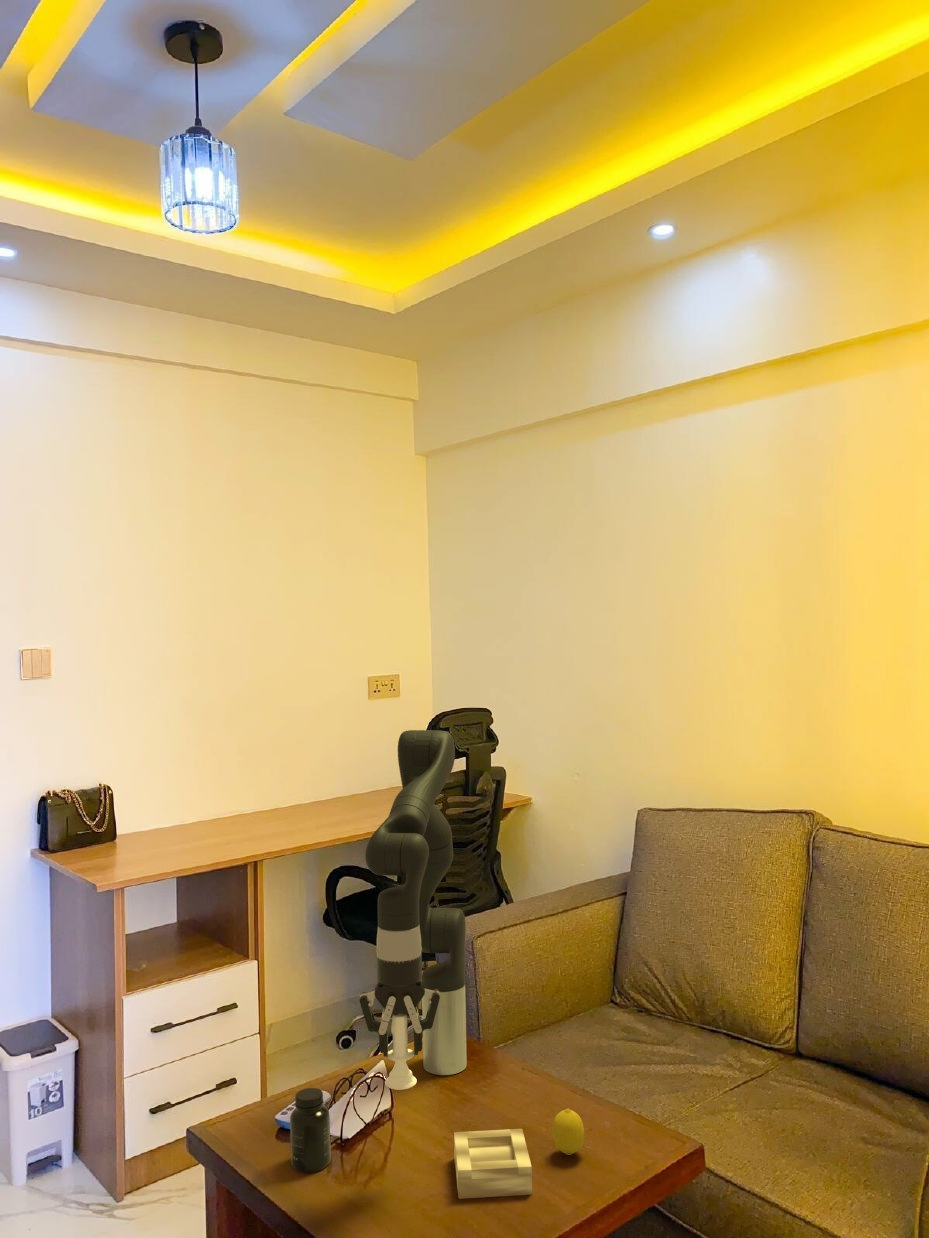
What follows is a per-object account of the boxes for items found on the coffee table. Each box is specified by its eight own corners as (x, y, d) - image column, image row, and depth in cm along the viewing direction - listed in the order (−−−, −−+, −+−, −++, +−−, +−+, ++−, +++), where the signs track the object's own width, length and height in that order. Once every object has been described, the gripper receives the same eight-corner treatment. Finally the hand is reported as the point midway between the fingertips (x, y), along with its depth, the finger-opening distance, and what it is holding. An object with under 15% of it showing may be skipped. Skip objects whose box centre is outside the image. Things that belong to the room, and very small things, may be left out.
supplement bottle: (315, 1148, 169) (314, 1080, 169) (338, 1162, 164) (337, 1092, 164) (283, 1163, 164) (282, 1093, 164) (305, 1178, 159) (304, 1107, 160)
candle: (390, 1092, 155) (389, 1019, 156) (380, 1078, 160) (379, 1007, 160) (421, 1086, 157) (420, 1013, 158) (410, 1072, 162) (409, 1002, 163)
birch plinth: (454, 1158, 165) (454, 1132, 165) (522, 1154, 166) (522, 1128, 166) (458, 1198, 153) (458, 1170, 153) (532, 1194, 154) (531, 1166, 154)
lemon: (549, 1160, 163) (548, 1114, 164) (557, 1144, 169) (556, 1099, 169) (580, 1166, 162) (579, 1119, 162) (587, 1149, 167) (586, 1103, 167)
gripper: (440, 943, 163) (442, 1042, 163) (357, 946, 163) (359, 1046, 162) (442, 957, 156) (444, 1062, 156) (355, 961, 155) (357, 1065, 155)
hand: (400, 1053), depth 159 cm, fingers closed on candle, 4 cm apart
